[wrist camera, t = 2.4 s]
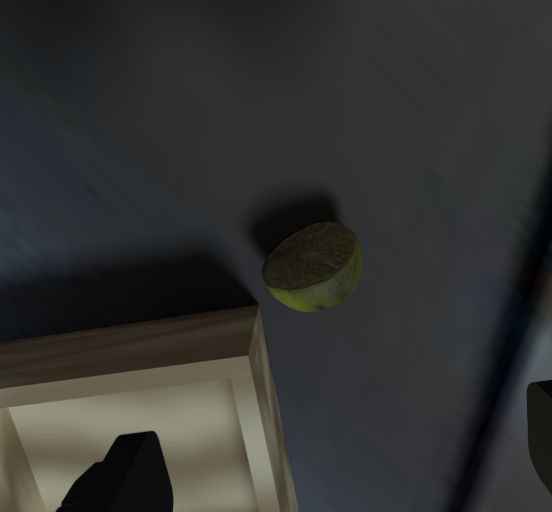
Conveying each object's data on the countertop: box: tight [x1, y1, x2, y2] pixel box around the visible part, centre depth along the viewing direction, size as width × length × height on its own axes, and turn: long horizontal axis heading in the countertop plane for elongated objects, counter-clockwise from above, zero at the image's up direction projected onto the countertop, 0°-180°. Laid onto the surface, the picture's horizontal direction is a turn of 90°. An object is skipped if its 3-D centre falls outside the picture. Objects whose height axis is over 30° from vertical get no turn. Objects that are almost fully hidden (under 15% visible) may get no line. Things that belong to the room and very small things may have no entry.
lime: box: [262, 222, 362, 312], centre depth 22 cm, size 4×5×5 cm
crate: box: [0, 305, 299, 512], centre depth 25 cm, size 17×17×6 cm
